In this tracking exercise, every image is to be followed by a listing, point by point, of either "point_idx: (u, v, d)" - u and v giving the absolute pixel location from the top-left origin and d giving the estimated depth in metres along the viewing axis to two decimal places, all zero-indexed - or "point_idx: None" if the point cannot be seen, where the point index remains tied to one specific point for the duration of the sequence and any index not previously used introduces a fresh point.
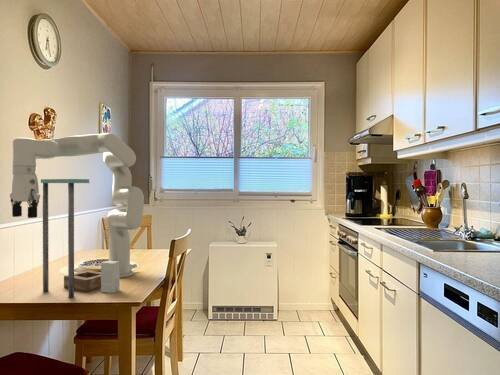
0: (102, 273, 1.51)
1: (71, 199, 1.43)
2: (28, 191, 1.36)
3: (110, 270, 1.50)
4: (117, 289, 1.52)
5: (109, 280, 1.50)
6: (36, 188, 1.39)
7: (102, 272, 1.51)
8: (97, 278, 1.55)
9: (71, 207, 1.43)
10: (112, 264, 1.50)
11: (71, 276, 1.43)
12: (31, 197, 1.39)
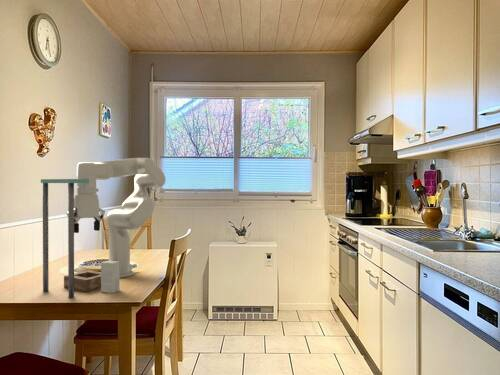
0: (102, 273, 1.51)
1: (71, 199, 1.43)
2: None
3: (110, 270, 1.50)
4: (117, 289, 1.52)
5: (109, 280, 1.50)
6: None
7: (102, 272, 1.51)
8: (97, 278, 1.55)
9: (71, 207, 1.43)
10: (112, 264, 1.50)
11: (71, 276, 1.43)
12: None
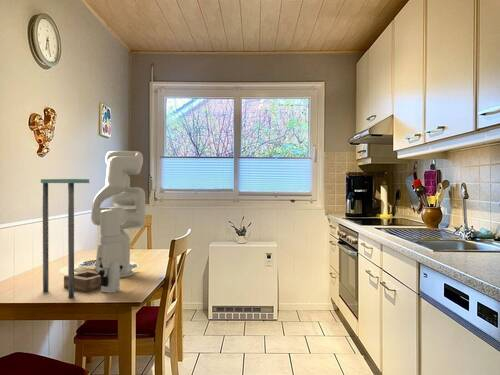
0: None
1: (71, 199, 1.43)
2: None
3: (110, 270, 1.50)
4: (117, 289, 1.52)
5: (109, 280, 1.50)
6: None
7: None
8: (97, 278, 1.55)
9: (71, 207, 1.43)
10: (112, 264, 1.50)
11: (71, 276, 1.43)
12: None
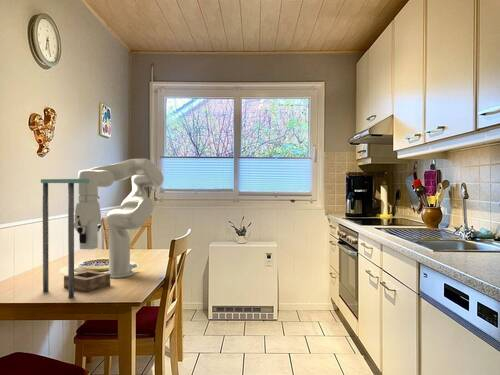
0: None
1: (71, 199, 1.43)
2: None
3: (87, 228, 1.57)
4: (95, 246, 1.59)
5: (87, 237, 1.57)
6: None
7: None
8: (97, 278, 1.55)
9: (71, 207, 1.43)
10: (89, 222, 1.56)
11: (71, 276, 1.43)
12: None
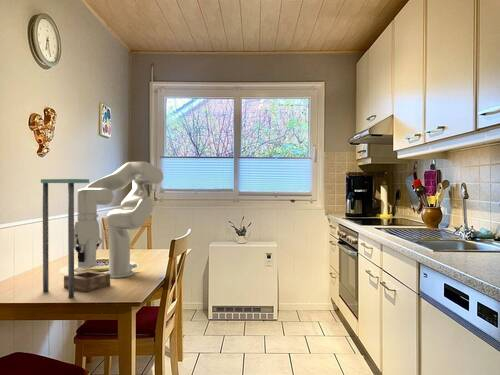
0: None
1: (71, 199, 1.43)
2: None
3: (86, 246, 1.57)
4: (93, 265, 1.59)
5: (85, 256, 1.57)
6: None
7: None
8: (97, 278, 1.55)
9: (71, 207, 1.43)
10: (88, 241, 1.57)
11: (71, 276, 1.43)
12: None
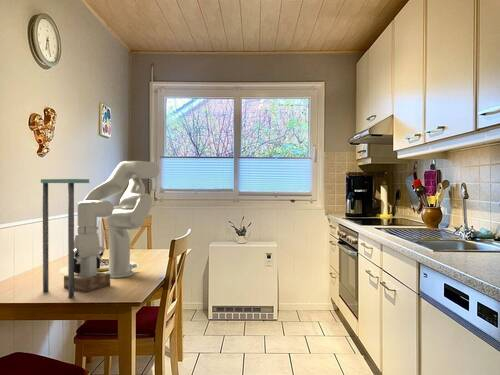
0: (80, 266, 1.58)
1: (71, 199, 1.43)
2: None
3: (86, 264, 1.57)
4: None
5: (86, 273, 1.57)
6: None
7: (80, 266, 1.58)
8: (97, 278, 1.55)
9: (71, 207, 1.43)
10: (88, 258, 1.57)
11: (71, 276, 1.43)
12: None
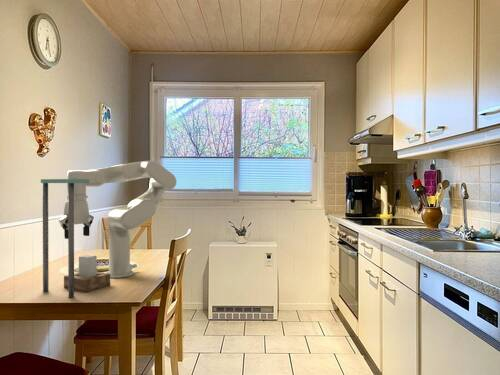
0: (80, 266, 1.58)
1: (71, 199, 1.43)
2: None
3: (86, 264, 1.57)
4: None
5: (86, 273, 1.57)
6: None
7: (80, 266, 1.58)
8: (97, 278, 1.55)
9: (71, 207, 1.43)
10: (88, 258, 1.57)
11: (71, 276, 1.43)
12: None
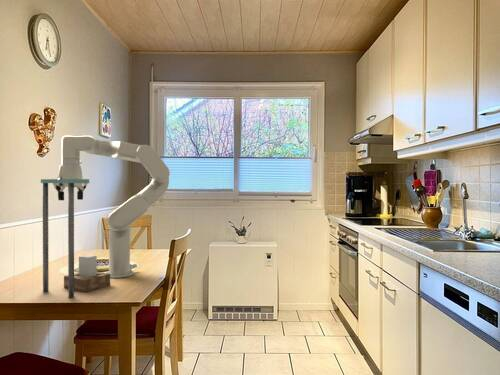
0: (80, 266, 1.58)
1: (71, 199, 1.43)
2: None
3: (86, 264, 1.57)
4: None
5: (86, 273, 1.57)
6: None
7: (80, 265, 1.58)
8: (97, 278, 1.55)
9: (71, 207, 1.43)
10: (88, 258, 1.57)
11: (71, 276, 1.43)
12: None
